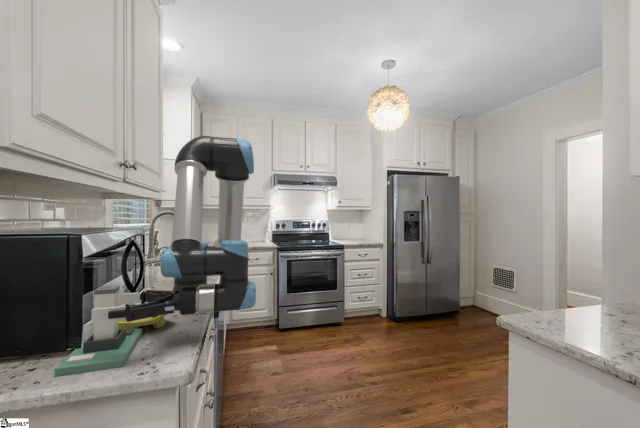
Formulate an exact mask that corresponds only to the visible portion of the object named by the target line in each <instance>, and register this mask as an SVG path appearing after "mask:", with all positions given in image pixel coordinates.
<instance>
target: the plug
mask: <svg viewBox="0 0 640 428" xmlns="http://www.w3.org/2000/svg"><path fill="white" fill-rule="evenodd" d="M119 294H120V285H109V286H108V285H107V286H99V287H98V288H96V289H94V299H93V300H94V302H93V303H94V304H93V305H94V306H93V309H95V308H107V307H119ZM93 333H94V335H93V341H94V340H102V339H111V338H116V337H117V336H118V319H117V320H106V321H96V322H93Z"/></svg>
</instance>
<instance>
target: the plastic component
mask: <svg viewBox="0 0 640 428" xmlns="http://www.w3.org/2000/svg"><path fill="white" fill-rule="evenodd" d="M167 315H168V314H163V315H158V316H154V317H149V318H144V319H139V320H135V321H131V322H127V321H126V319H118V329H126V330H127V329H139V327H145V326H150V325H152V326H153V328H155V329H160V328H161V327H164V325H165V324H166V322H167V321H166V320H165V317H166V316H167Z"/></svg>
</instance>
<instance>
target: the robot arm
mask: <svg viewBox="0 0 640 428" xmlns="http://www.w3.org/2000/svg"><path fill="white" fill-rule="evenodd" d="M254 162H255V161H254V152H253V146H252V144H251V142H250V141H248V140H246V139H240V138H231V137H223V136H221V137H220V136H211V135H210V136H209V135H200V136H196V137H194V138H192V139H191V140H189V141H188V142H186V143H185V144H184V145H183V146H182V147H181V149H180V150H179V151H178V153H177V155H176V157H175V161H174V172H175V174H176V175H177V178H176V188H175V200H174V211H173V212H174V213H173V221H172V223H173V224H172V233H171V234H172V236H171V245H170V247H169V248H164V249H162V251H161V255H160V262H159V263H160V265H159V267H160V274H161V275H162V276H163V277H164V278H173V281H174V282H173V288H172V290H158V289H157V290H155V289H153V290H151V289H147V290H144V291H140V292H128V293H127V292H126V293H119V305H120V304H121V305H122V306H120V307H107V308H95V309H94V308H92V309H91V319H90V321H91V323H94V322H96V321H106V320H117V319H126V321H127V322H131V321H135V320H139V319H144V318H149V317H154V316H158V315H163V314H167V315H168V314H170V315H171V314H174V313H175V311H176V310H177V311H179V313H180V315H181V316H186V315H187V316H189V315H195V314H197V313H198V314H205V313H206V315H210V314H211V313H216V312H217V313H218V312H228V311H241V310H246V309H247V310H248V309H252V308H253V307H254V306H255V305H256V301H257V289H256V283H255V282H254V281H250V280H249V244H248V242H247V241H245V240H242V226H243V225H242V224H243V208H244V193H245V192H244V190H245V183H246V182H247V181H248V180H249V179H250V175H253V174H254V172H255V171H254V170H255V163H254ZM208 172H214V177H215V178H216V179H217V180H218V181H219V184H218V187H219V190H218V220H217V221H218V225H217V228H218V230H217V239H215V240H214V242H213V245H211V246H210V245H209V244H208V242H202V234H203V233H202V232H203V231H202V230H203V229H202V228H203V208H204V207H203V206H204V204H203V203H204V178H205V177H206V176H207V175H208V174H207V173H208ZM212 276H213V277H214V276H220V278H219V279H220V280H219V281H220V282H219V283H208V277H212ZM132 304H136V305H133V306H131V305H132Z"/></svg>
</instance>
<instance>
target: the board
mask: <svg viewBox="0 0 640 428" xmlns="http://www.w3.org/2000/svg"><path fill="white" fill-rule="evenodd" d="M143 330H144V329H143V328H138V329H127V330H126V329H118V336H117V337H116V338H111V339H102V340H94V341H93V335H94V332H93V333H91V334H92V335H91V334H90V335H91V336H90V335H89V336H90V337H89V336H88V337H89V338H88V337H87V338H88V339H87V338H86V339H87V340H86V339H85V340H86V341H85V340H84V341H85V342H84V341H83V342H84V343H83V347H82V348H79V349H76V348H75V349H74V350H73V351H72V352H71V353H69V355H68V356H67V357H66V358H64V360H62V361H61V362H60V363H59V364H58V365H57V366H56V367H55V368H54V377H60V376H61V375H62V376H67V375H74V374H81V373H88V372H96V371H101V370H102V371H103V370H108V369H109V370H110V369H115V368H122V367H124V366H125V364H126V363H127V361H128V359H129V357H130V355H132V353H133V350H134V349H135V347H136V346H137V343H138V342H139V341H140V339H141V337H142V335H143V333H144V332H143Z"/></svg>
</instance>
